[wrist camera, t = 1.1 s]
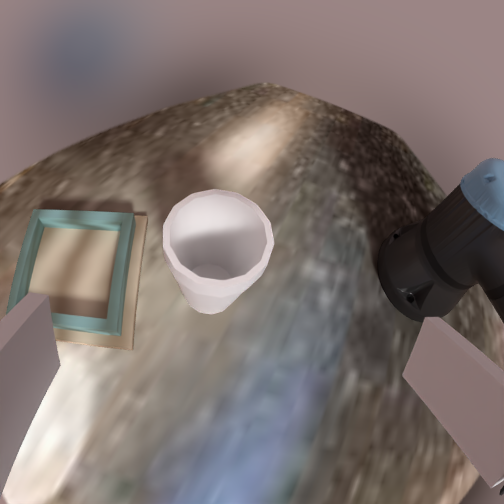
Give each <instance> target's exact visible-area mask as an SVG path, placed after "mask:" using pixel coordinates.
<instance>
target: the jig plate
mask: <svg viewBox="0 0 504 504" xmlns="http://www.w3.org/2000/svg"><path fill="white" fill-rule="evenodd" d="M147 223H148V217H147V216H138V215H134V213H120V212H98V211H73V210H42V209H34V210H33V213H32V216H31V219H30V222H29V225H28V228H27V231H26V234H25V238H24V241H23V244H22V248H21V251H20V255H19V259H18V262H17V266H16V270H15V274H14V278H13V283H12V287H11V292H10V296H9V301H8V306H7V312H6V315H7V314H8V313H9V312H10V311H11V310H12V309H13V308H14V307H15V306H16V305H17V304H18V303H19V302H20V301H21V300H22V299H23V298H24V297H25V296H26V295H27V294H28V293H29V292H32V293H39V294H45V295H49V301H50V309H51V316H52V323H53V329H54V335H55V340H56V341H62V342H69V343H76V344H83V345H90V346H98V347H107V348H116V349H125V350H133V344H134V330H135V319H136V308H137V298H138V289H139V280H140V272H141V264H142V257H143V250H144V243H145V236H146V230H147Z"/></svg>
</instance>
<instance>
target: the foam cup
mask: <svg viewBox="0 0 504 504" xmlns="http://www.w3.org/2000/svg"><path fill="white" fill-rule="evenodd" d="M273 246H274V239H273V234H272V228H271V223H270V221H269V220H268V218H267V217H266V216H265V214H264V213H263V212H262V210H261V209H260V208H259V206H258V205H257V204H255V203H254V202H252V201H250V200H249V199H247V198H245V197H244V196H242V195H240V194H239V193H235V192H230V191H224V190H218V189H212V190H207V191H202V192H197V193H192V194H191V195H189V196H188V197H186V198H185V199H183V200H182V201H180V202H179V203H177V204H176V205H174V206H173V208H172V210H171V212H170V214H169V215H168V217H167V219H166V221H165V223H164V224H163V250H164V257H165V261H166V263H167V265H168V267H169V268H170V270H171V272H172V274H173V275H174V277H175V279H176V280H177V283H178V285H179V287H180V289H181V291H182V293H183V295H184V297H185V299H186V300H187V302H188V304H189V306H191V307H192V308H194V309H195V310H197V311H198V312H200V313H207V314H214V313H218V312H221V311H224V310H225V309H226V308H227V307H228V306H229V305H230V304H231V303H232V302H233V301H234V300H235V299H236V298H237V297H238V296H239V295H240V294H241V293H242V292H243V291H245V290H246V289H247V288H248V287H250V286H251V285H252V284H253V283H254V282H255V281H256V280H257V279H258V278H259V277H260V276H261V275H262V274H263V272H264V270H265V268H266V266H267V264H268V261H269V258H270V255H271V252H272V249H273Z"/></svg>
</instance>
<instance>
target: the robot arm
mask: <svg viewBox="0 0 504 504" xmlns="http://www.w3.org/2000/svg"><path fill="white" fill-rule="evenodd" d="M378 272H379V277H380V281H381V284H382V286H383V289H384V291H385V293H386V295H387V296H388V298H389V299H390V301H391V302H392V303H393V305H394V306H395V307H396V308H397V309H398V310H399V311H400V312H401V313H403V314H404V315H405V316H407V317H409V318H410V319H413V320H415V321H419V322H423V324H422V327H421V330H420V332H419V335H418V338H417V340H416V343H415V345H414V348H413V351H412V353H411V355H410V358H409V360H408V363H407V365H406V367H405V370H404V372H403V374H402V376H403V377H404V378H405V380H406V381H407V382H408V383H409V384H410V386H411V387H412V388H413V389H414V391H415V392H416V393H417V394H418V395H419V397H420V398H421V399H422V400H423V402H424V403H425V404H426V405H427V407H428V408H429V409H430V410H431V412H432V413H433V414H434V415H435V417H436V418H437V419H438V420H439V422H440V423H441V424H442V425H443V427H444V428H445V429H446V430H447V432H448V433H449V434H450V436H451V437H452V438H453V439H454V441H455V442H456V443H457V444H458V446H459V447H460V448H461V450H462V451H463V452H464V454H465V455H466V456H467V457H468V459H469V460H470V461H471V463H472V464H473V465H474V467H475V468H476V469H477V471H478V472H479V473H480V475H481V476H482V477H483V479H484V480H485V481H486V483H487V484H488V485H489V487H490V488H492V487H494V486H495V485H497V484H499V483H500V482H502V481H503V480H504V371H503V370H502V369H501V368H500V367H498V366H497V365H496V364H495V363H494V362H493V361H492V360H490V359H489V358H488V357H487V356H486V355H485V354H483V353H482V352H481V351H480V350H479V349H477V348H476V347H475V346H474V345H473V344H471V343H470V342H469V341H468V340H467V339H465V338H464V337H463V336H462V335H461V334H459V333H458V332H457V331H456V330H454V329H453V328H452V327H451V326H449V325H448V324H447V323H446V322H445V321H443V320H442V319H441V317H443V316H445V315H446V314H448V313H449V312H450V311H451V310H452V309H453V308H454V307H455V305H456V304H457V303H458V302H459V301H460V299H461V298H462V297H463V295H464V294H465V293H466V292H467V290H468V289H469V288H471V287H472V286H474V285H476V284H478V283H479V284H480V286H481V287H482V289H483V290H484V292H485V293H486V295H487V296H488V298H489V300H490V301H491V303H492V305H493V306H494V308H495V310H496V311H497V313H498V315H499V316H500V318H501V320H502V321H503V323H504V161H503V160H500V159H496V158H495V159H494V158H490V159H486V160H484V161H482V162H481V163H480V164H479V165H478V166H477V167H476V168H475V169H473V170H472V171H471V172H470V173H468V174H467V175H465V176H464V177H463V178H462V180H461V183H460V184H459V185H458V186H457V187H456V188H455V189H454V190H453V191H452V192H451V193H450V194H449V195H448V196H447V197H446V198H445V199H444V200H443V201H442V202H441V203H440V204H439V205H438V206H437V207H436V208H435V209H434V210H433V211H432V212H431V213H430V214H429V215H428V216H427V217H426V218H425V219H422V220H419V221H417V222H414V223H411V224H409V225H406V226H403V227H401V228H399V229H397V230H396V231H394V232H393V233H392V234H391V235H390V236H389V237H388V238H387V239H386V240H385V241H384V243H383V244H382V246H381V248H380V251H379V255H378ZM60 366H61V365H60V361H59V356H58V351H57V346H56V340H55V335H54V329H53V323H52V316H51V309H50V301H49V295H45V294H39V293H32V292H29V293H28V294H27V295H26V296H25V297H24V298H23V299H22V300H21V301H20V302H19V303H18V304H17V305H16V306H15V307H14V308H13V309H12V310H11V311H10V312H9V313H8V314H7V315H6V316H5V317H4V318H3V319H2V320H1V321H0V497H1V495H2V492H3V489H4V486H5V484H6V481H7V479H8V476H9V473H10V471H11V468H12V466H13V463H14V461H15V459H16V456H17V454H18V452H19V449H20V447H21V445H22V442H23V440H24V438H25V436H26V433H27V431H28V429H29V427H30V425H31V423H32V420H33V418H34V416H35V414H36V412H37V410H38V408H39V406H40V404H41V402H42V400H43V398H44V396H45V394H46V392H47V390H48V388H49V386H50V384H51V382H52V380H53V379H54V377H55V375H56V373H57V371H58V369H59V367H60ZM503 493H504V486H503V488H502V489H501V490H500V495H502V494H503Z"/></svg>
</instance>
